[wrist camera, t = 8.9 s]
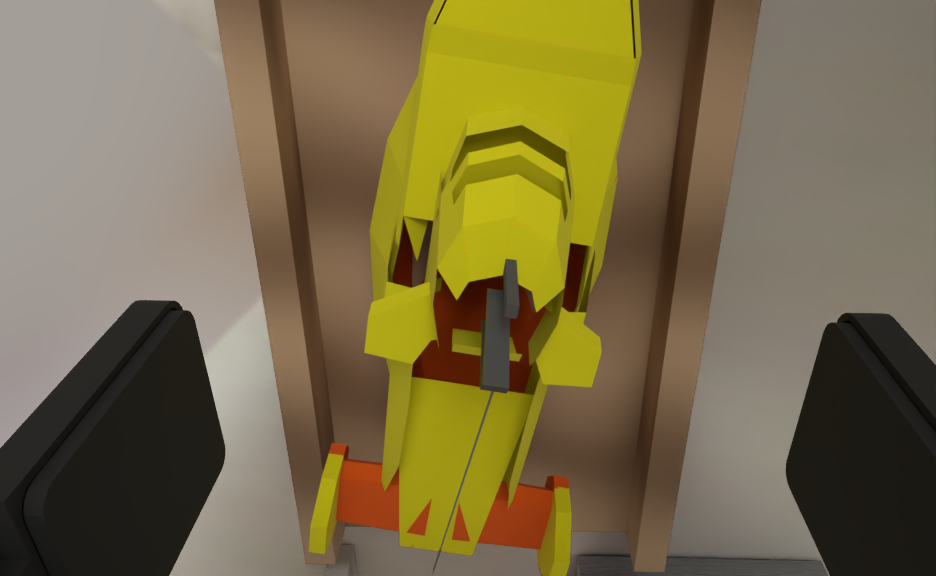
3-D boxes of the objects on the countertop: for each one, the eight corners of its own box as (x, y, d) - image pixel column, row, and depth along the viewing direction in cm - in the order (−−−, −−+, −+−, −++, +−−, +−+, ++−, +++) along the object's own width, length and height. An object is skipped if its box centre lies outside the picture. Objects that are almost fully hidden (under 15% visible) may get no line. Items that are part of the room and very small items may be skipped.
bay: (204, -331, 15) (152, -375, 13) (1205, -355, 14) (1336, -406, 12) (336, 609, 28) (323, 667, 26) (851, 622, 28) (882, 683, 26)
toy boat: (348, 443, 23) (258, 760, 15) (413, -200, 15) (295, -374, 6) (537, 471, 24) (561, 798, 15) (702, -147, 15) (979, -242, 7)
